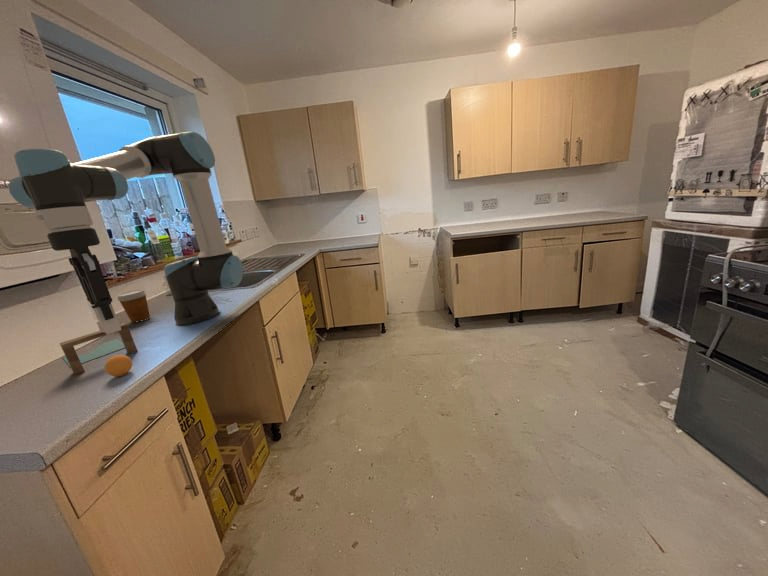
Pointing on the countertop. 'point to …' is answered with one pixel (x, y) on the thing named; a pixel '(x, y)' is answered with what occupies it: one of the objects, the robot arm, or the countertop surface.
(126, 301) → the disposable coffee cup
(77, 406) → the countertop surface
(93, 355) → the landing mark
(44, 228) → the robot arm
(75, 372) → the bridge
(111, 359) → the ball
